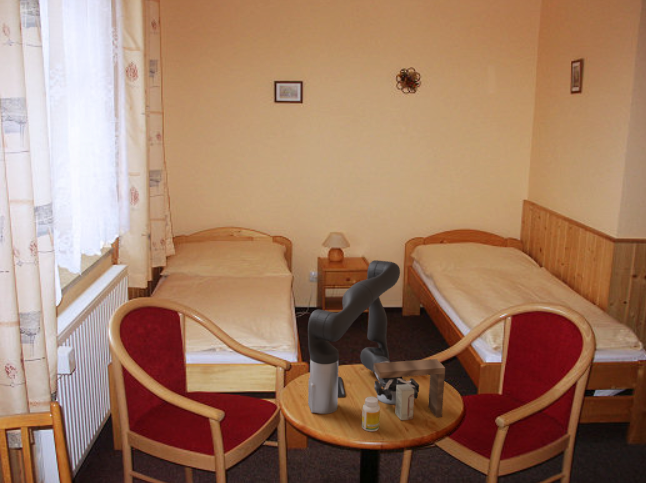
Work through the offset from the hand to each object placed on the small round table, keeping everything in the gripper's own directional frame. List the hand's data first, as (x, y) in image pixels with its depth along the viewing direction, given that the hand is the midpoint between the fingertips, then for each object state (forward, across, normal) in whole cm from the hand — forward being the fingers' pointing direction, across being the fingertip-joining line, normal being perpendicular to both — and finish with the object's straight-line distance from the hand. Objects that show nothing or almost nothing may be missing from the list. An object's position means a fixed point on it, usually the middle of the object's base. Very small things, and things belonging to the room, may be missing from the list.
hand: (403, 396), depth 199 cm
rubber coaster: (-12, 0, +6) cm, 13 cm away
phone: (-23, -18, +7) cm, 30 cm away
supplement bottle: (+6, -13, +6) cm, 16 cm away
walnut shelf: (0, +1, +6) cm, 6 cm away
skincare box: (+1, 0, +6) cm, 6 cm away
